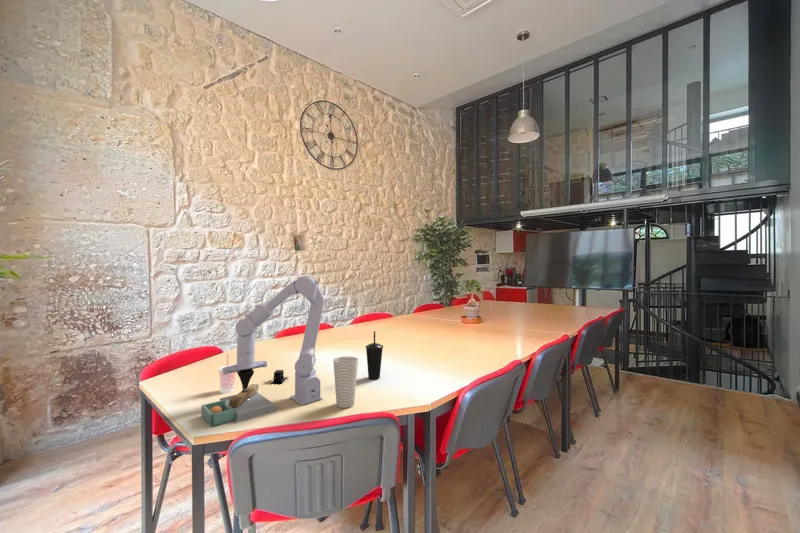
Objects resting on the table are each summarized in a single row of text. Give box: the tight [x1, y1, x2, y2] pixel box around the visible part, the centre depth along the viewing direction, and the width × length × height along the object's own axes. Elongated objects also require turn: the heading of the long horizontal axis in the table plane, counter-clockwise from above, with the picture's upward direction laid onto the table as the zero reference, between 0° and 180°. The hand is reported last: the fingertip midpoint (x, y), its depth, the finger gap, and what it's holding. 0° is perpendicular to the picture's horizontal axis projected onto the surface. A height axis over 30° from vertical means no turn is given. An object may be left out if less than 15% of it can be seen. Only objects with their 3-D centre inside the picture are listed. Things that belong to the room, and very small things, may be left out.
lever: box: [229, 383, 260, 407], centre depth 115 cm, size 14×2×3 cm, turn 176°
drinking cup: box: [365, 331, 384, 381], centre depth 147 cm, size 8×8×20 cm
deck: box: [219, 392, 276, 423], centre depth 114 cm, size 18×12×2 cm, turn 44°
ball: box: [210, 406, 222, 414], centre depth 106 cm, size 4×4×4 cm
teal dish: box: [200, 400, 236, 428], centre depth 106 cm, size 10×7×4 cm
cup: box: [333, 356, 359, 409], centre depth 117 cm, size 8×8×16 cm
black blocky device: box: [267, 369, 287, 386], centre depth 142 cm, size 12×7×5 cm, turn 4°
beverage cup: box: [218, 353, 236, 394], centre depth 130 cm, size 6×6×14 cm
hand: (244, 390), depth 120 cm, fingers closed
